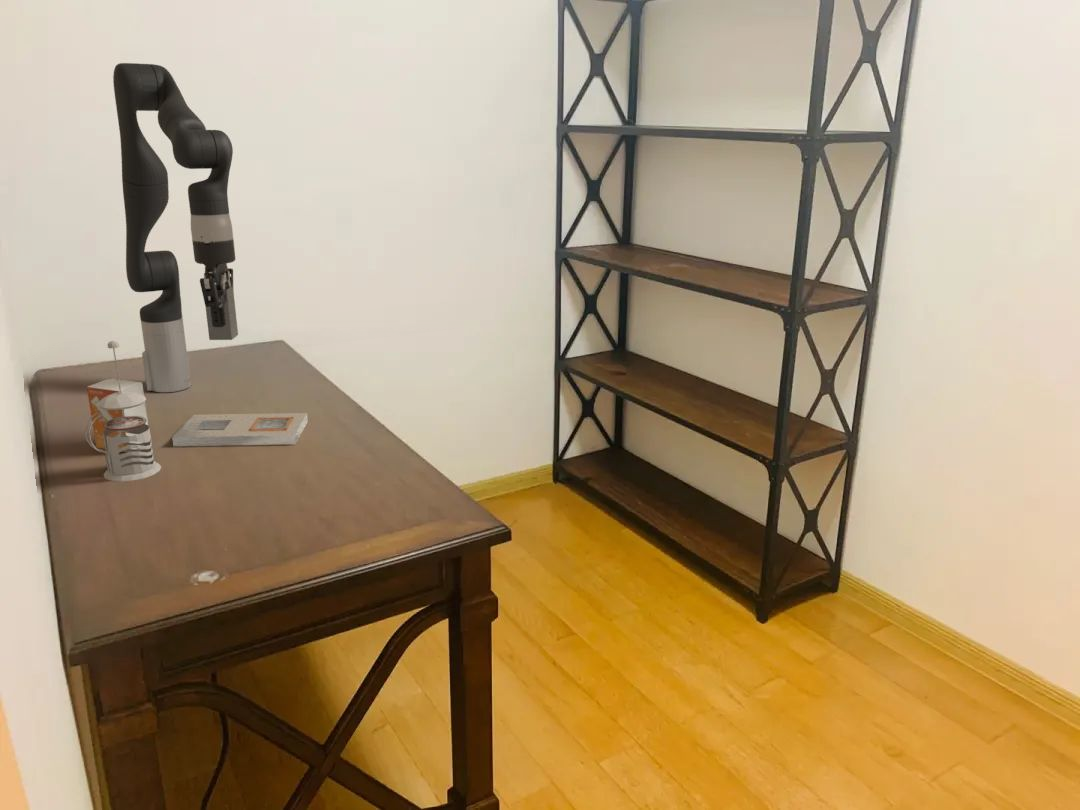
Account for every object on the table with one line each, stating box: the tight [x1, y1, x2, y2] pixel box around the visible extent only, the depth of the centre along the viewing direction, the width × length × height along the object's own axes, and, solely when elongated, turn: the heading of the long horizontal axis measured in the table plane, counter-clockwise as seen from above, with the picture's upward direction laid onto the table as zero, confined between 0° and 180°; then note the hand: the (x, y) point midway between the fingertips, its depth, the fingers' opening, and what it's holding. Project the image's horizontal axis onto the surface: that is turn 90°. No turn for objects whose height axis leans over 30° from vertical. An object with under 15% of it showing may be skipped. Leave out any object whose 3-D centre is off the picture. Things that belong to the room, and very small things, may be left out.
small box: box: [86, 378, 149, 453], centre depth 166 cm, size 8×6×13 cm
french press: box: [84, 340, 162, 482], centre depth 151 cm, size 10×12×25 cm
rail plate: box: [172, 412, 309, 448], centre depth 175 cm, size 24×14×2 cm, turn 95°
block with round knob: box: [205, 285, 239, 341], centre depth 167 cm, size 4×4×11 cm
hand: (222, 323), depth 168 cm, fingers closed on block with round knob, 4 cm apart
